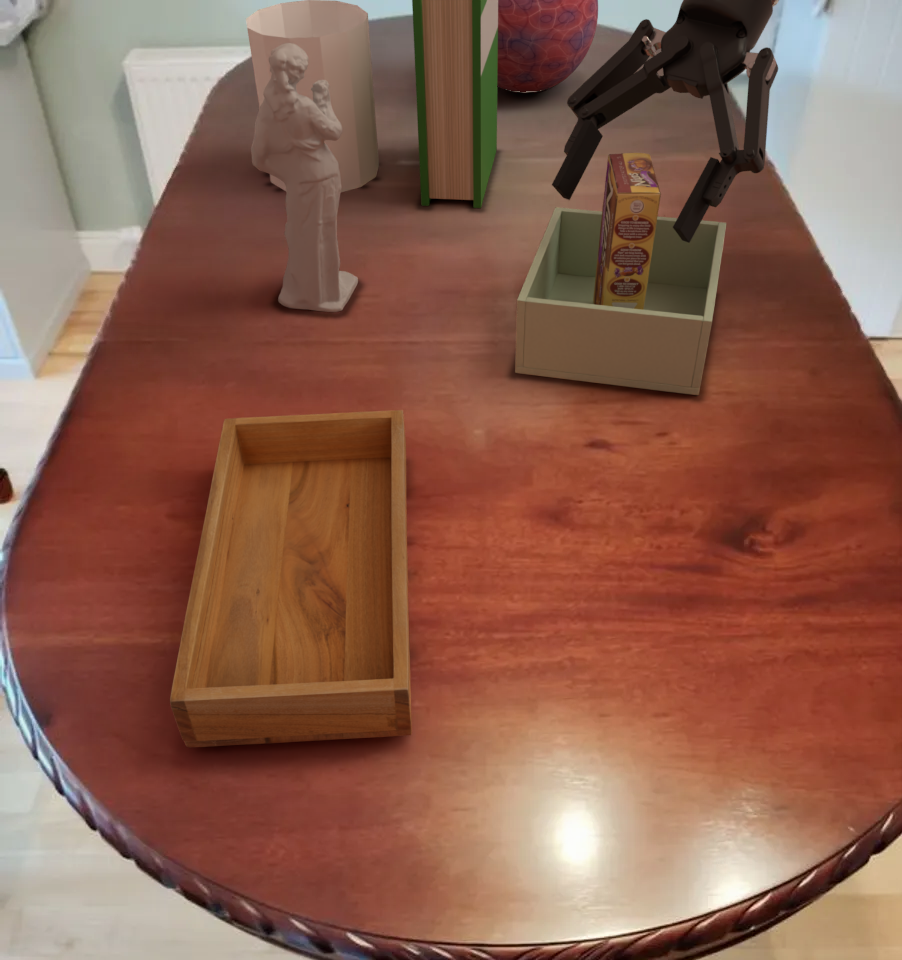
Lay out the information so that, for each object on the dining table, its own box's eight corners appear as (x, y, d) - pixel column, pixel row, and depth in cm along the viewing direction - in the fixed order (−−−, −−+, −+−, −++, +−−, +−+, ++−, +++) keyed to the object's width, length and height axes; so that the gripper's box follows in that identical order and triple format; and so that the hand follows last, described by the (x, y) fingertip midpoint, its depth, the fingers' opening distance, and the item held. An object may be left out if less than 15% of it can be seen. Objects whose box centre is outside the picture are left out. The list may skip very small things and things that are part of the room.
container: (389, 152, 135) (379, 1, 122) (364, 198, 125) (351, 40, 112) (286, 146, 137) (266, -2, 124) (254, 191, 127) (228, 36, 114)
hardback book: (480, 208, 122) (480, -15, 105) (421, 205, 123) (411, -16, 106) (496, 149, 134) (498, -59, 117) (442, 148, 135) (436, -60, 118)
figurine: (342, 263, 113) (315, 17, 95) (375, 302, 107) (353, 47, 89) (262, 282, 111) (219, 34, 93) (291, 323, 104) (251, 65, 86)
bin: (713, 292, 107) (726, 222, 101) (698, 395, 94) (712, 321, 88) (551, 276, 110) (555, 206, 105) (514, 373, 97) (516, 300, 91)
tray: (234, 467, 88) (222, 413, 84) (406, 459, 88) (403, 405, 84) (186, 755, 66) (166, 701, 62) (413, 743, 67) (409, 689, 63)
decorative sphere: (610, 106, 144) (624, -56, 130) (476, 120, 142) (474, -43, 127) (569, 60, 158) (578, -90, 144) (446, 73, 155) (442, -79, 141)
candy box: (642, 345, 98) (662, 192, 87) (598, 345, 99) (612, 193, 88) (633, 299, 105) (651, 151, 94) (592, 299, 105) (605, 152, 94)
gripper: (875, 42, 85) (747, 272, 88) (636, -9, 97) (532, 194, 101) (862, -14, 79) (724, 236, 82) (607, -62, 91) (497, 157, 94)
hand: (618, 213), depth 91 cm, fingers open, 13 cm apart
